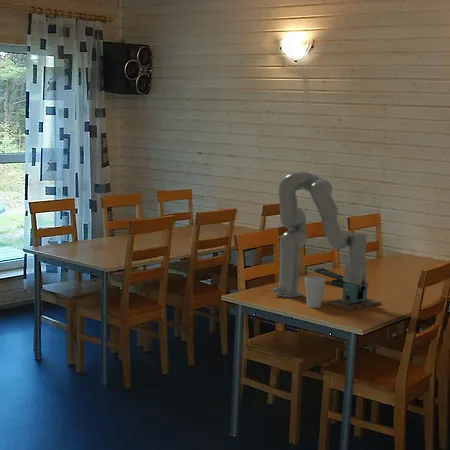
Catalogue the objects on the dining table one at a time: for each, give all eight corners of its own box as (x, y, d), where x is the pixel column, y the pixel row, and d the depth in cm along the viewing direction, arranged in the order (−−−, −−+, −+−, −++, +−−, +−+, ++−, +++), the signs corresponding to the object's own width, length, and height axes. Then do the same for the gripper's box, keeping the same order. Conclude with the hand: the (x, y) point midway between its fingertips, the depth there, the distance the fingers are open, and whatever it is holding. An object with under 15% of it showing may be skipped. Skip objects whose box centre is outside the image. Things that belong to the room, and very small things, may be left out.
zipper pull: (322, 267, 386) (362, 275, 369) (321, 279, 387) (361, 287, 370) (312, 269, 379) (352, 277, 362) (312, 281, 380) (351, 290, 363)
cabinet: (351, 303, 329) (352, 286, 328) (341, 300, 334) (342, 283, 333) (366, 300, 336) (367, 283, 335) (356, 297, 341) (357, 281, 340)
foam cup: (327, 306, 330) (329, 278, 328) (316, 309, 323) (317, 281, 321) (310, 302, 336) (312, 275, 334) (299, 305, 329) (300, 278, 328)
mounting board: (349, 310, 323) (350, 304, 323) (327, 304, 334) (327, 297, 334) (381, 304, 337) (381, 297, 336) (358, 298, 348) (358, 291, 347)
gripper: (337, 257, 337) (335, 294, 339) (366, 264, 323) (363, 302, 326) (348, 256, 341) (346, 292, 344) (376, 262, 328) (374, 300, 331)
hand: (354, 297), depth 335 cm, fingers open, 6 cm apart
